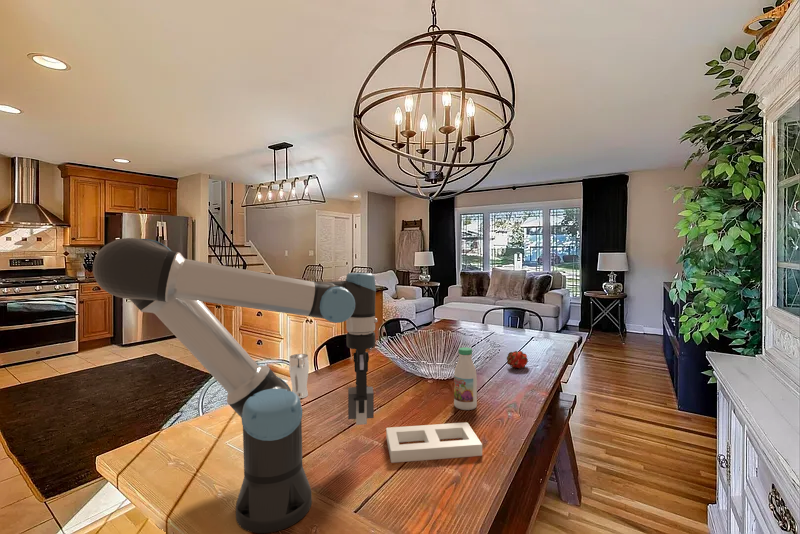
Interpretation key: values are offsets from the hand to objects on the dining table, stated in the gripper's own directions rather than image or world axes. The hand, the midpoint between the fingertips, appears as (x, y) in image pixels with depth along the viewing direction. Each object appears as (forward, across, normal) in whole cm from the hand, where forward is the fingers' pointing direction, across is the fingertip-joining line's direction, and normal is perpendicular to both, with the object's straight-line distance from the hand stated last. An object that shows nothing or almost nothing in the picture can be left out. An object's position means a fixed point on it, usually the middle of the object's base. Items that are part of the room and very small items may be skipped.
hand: (361, 418), depth 102 cm
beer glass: (+10, +44, +22) cm, 50 cm away
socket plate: (+9, +1, -19) cm, 21 cm away
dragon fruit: (+9, +64, -72) cm, 97 cm away
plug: (0, 0, 0) cm, 0 cm away
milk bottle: (+9, +26, -36) cm, 46 cm away
